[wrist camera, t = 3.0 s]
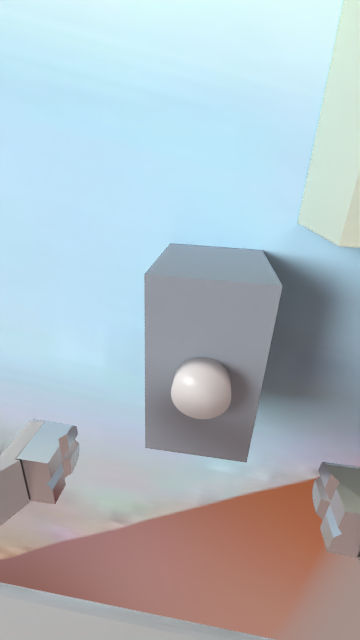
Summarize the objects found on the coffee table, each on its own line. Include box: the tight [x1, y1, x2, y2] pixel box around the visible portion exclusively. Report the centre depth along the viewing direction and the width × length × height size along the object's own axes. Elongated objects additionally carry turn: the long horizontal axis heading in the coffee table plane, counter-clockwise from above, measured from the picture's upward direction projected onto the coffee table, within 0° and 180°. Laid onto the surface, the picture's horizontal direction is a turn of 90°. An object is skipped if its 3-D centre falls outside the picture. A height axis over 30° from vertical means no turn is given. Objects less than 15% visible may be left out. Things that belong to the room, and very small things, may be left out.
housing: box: [145, 244, 283, 462], centre depth 15 cm, size 9×5×7 cm, turn 177°
